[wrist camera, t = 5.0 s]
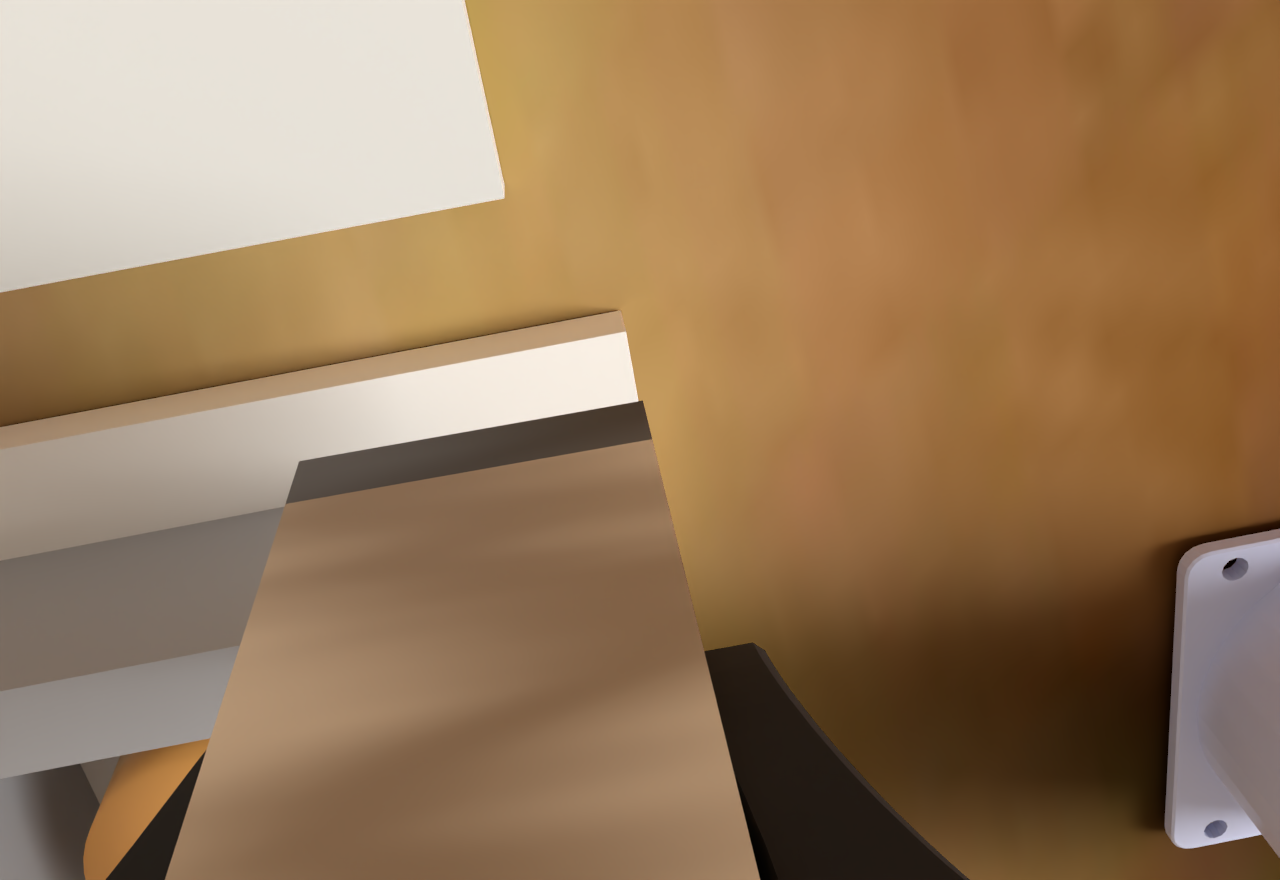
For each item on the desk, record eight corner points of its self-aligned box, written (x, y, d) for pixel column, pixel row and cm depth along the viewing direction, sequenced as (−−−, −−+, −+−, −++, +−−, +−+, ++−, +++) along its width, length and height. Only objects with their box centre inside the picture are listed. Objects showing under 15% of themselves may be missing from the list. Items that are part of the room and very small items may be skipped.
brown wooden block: (642, 400, 14) (828, 1150, 6) (686, 674, 16) (872, 1529, 8) (299, 460, 14) (29, 1305, 6) (382, 730, 16) (260, 1652, 8)
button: (360, 656, 21) (349, 728, 19) (430, 864, 23) (423, 945, 22) (73, 711, 21) (35, 789, 19) (170, 915, 23) (144, 1001, 22)
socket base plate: (620, 310, 21) (651, 439, 17) (724, 888, 27) (767, 1092, 23) (-305, 484, 21) (-526, 663, 16) (17, 1026, 27) (-78, 1261, 23)
